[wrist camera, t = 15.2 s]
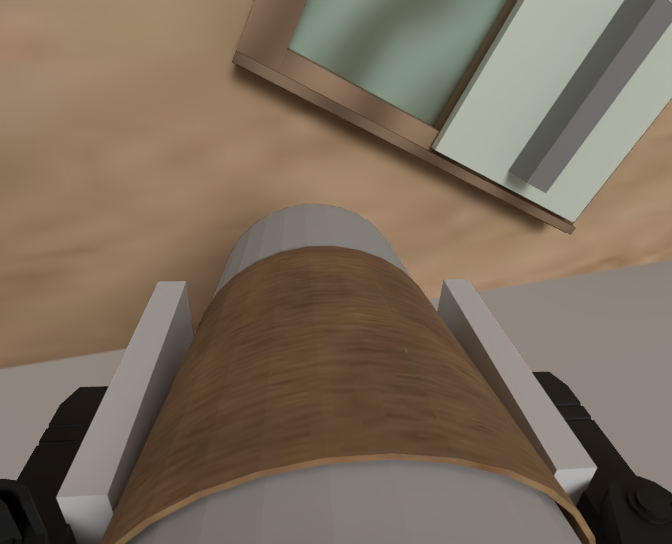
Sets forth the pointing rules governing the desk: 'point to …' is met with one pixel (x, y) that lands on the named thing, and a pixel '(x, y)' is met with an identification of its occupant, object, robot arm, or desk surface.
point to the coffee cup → (334, 412)
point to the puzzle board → (384, 68)
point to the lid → (563, 97)
